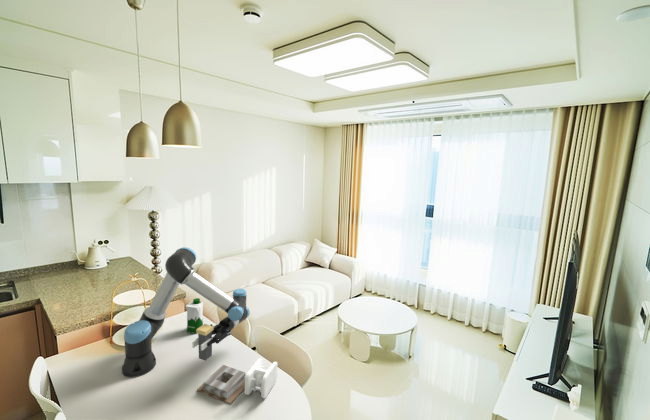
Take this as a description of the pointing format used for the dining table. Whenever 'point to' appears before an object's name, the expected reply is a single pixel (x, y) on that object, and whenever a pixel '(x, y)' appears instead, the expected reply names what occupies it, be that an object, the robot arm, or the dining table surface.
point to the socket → (224, 384)
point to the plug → (203, 336)
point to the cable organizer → (260, 378)
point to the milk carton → (194, 315)
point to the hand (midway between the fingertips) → (197, 346)
